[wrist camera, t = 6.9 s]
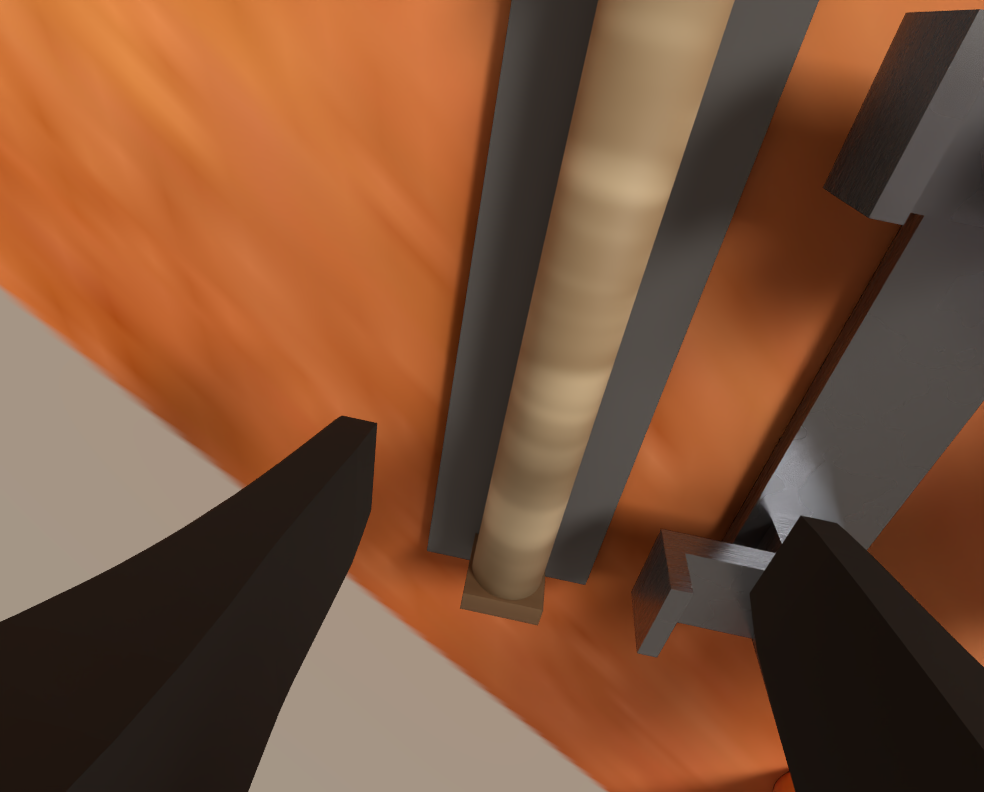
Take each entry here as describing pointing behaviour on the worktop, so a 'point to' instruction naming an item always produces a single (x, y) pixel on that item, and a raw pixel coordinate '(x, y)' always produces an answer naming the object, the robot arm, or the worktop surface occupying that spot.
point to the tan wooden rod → (589, 277)
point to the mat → (667, 277)
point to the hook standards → (867, 338)
